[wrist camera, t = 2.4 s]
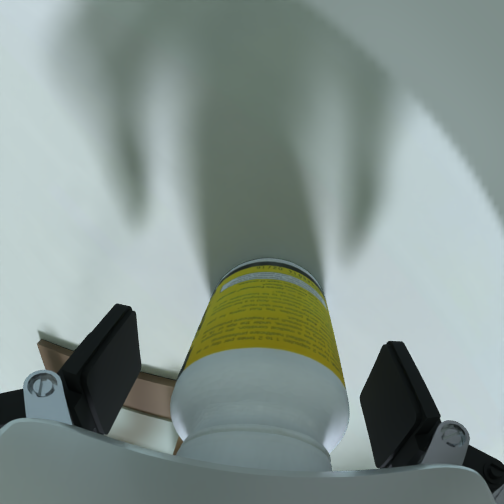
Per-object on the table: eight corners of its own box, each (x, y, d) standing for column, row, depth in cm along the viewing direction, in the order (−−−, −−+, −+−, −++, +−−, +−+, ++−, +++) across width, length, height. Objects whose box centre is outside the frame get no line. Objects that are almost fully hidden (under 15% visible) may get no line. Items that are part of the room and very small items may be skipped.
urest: (235, 391, 16) (227, 439, 13) (222, 485, 21) (217, 517, 18) (41, 339, 17) (13, 368, 14) (84, 446, 22) (70, 471, 18)
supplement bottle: (200, 263, 14) (97, 440, 5) (319, 246, 13) (383, 439, 4) (225, 356, 16) (184, 527, 6) (328, 345, 15) (356, 525, 6)
